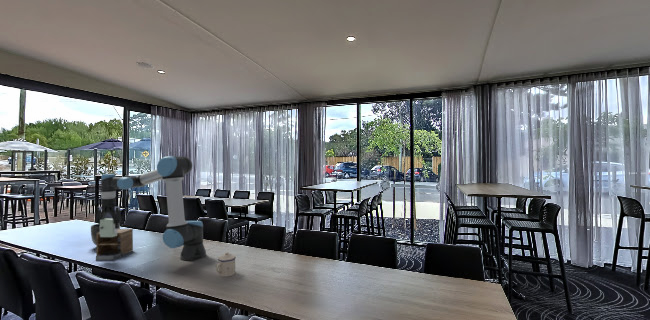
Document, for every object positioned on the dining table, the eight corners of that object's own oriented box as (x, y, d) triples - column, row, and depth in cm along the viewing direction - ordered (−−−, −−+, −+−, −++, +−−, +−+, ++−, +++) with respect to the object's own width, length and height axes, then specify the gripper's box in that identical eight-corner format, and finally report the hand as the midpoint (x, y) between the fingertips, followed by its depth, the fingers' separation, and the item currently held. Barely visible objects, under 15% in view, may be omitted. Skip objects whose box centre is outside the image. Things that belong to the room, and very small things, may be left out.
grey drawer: (123, 255, 195) (123, 237, 195) (113, 260, 187) (113, 240, 187) (106, 256, 195) (106, 237, 195) (96, 260, 187) (95, 240, 187)
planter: (84, 248, 213) (84, 226, 213) (108, 242, 229) (108, 221, 229) (102, 250, 208) (102, 227, 208) (125, 243, 224) (125, 222, 224)
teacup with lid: (227, 269, 168) (226, 249, 168) (239, 272, 164) (239, 251, 164) (210, 277, 157) (209, 255, 157) (222, 280, 153) (222, 257, 153)
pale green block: (117, 235, 192) (117, 218, 192) (111, 237, 187) (111, 220, 187) (104, 235, 192) (104, 218, 192) (98, 237, 187) (98, 220, 187)
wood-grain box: (132, 250, 207) (132, 228, 207) (120, 256, 195) (120, 233, 195) (109, 250, 207) (109, 229, 207) (96, 256, 195) (96, 233, 195)
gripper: (128, 197, 194) (128, 232, 194) (96, 197, 194) (96, 232, 194) (120, 198, 187) (120, 235, 187) (87, 198, 187) (87, 235, 187)
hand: (108, 233), depth 190 cm, fingers closed on pale green block, 8 cm apart
